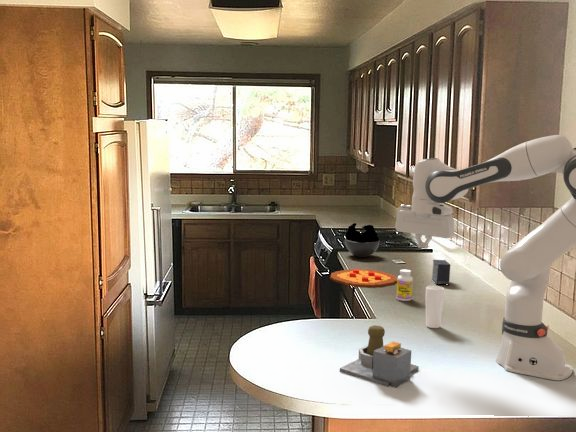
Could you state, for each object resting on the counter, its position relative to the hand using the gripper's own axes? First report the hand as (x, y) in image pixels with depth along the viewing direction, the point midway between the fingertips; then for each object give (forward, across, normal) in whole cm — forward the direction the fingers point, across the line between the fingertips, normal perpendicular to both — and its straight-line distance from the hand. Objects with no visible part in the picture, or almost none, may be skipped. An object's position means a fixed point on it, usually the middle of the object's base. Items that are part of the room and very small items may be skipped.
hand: (422, 248), depth 210 cm
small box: (+34, -35, +88) cm, 101 cm away
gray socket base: (+34, +2, -28) cm, 44 cm away
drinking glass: (+34, -6, +23) cm, 42 cm away
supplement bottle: (+34, -33, +49) cm, 68 cm away
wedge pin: (+33, +9, -32) cm, 46 cm away
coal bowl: (+34, -96, +112) cm, 152 cm away
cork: (+33, -2, -24) cm, 41 cm away
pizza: (+35, -66, +68) cm, 101 cm away
